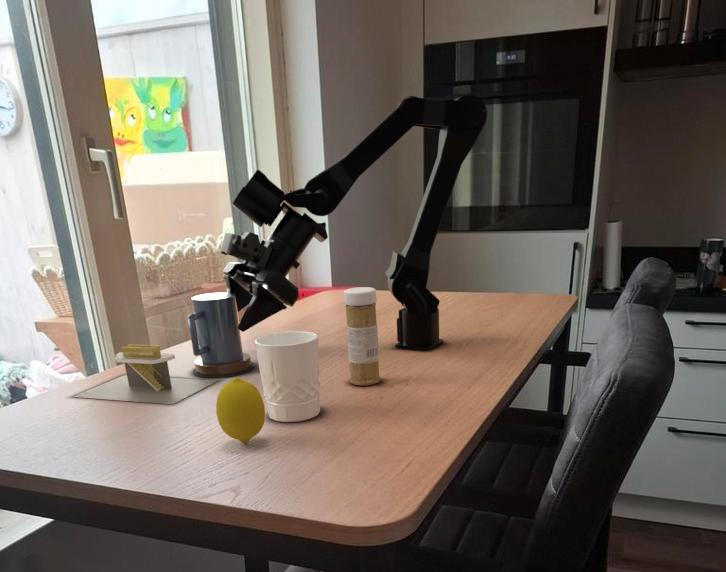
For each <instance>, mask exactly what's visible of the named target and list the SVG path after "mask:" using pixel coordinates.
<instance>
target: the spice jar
mask: <svg viewBox="0 0 726 572" xmlns="http://www.w3.org/2000/svg"><path fill="white" fill-rule="evenodd" d="M376 302H377V290H376V288H374V287H370V286H360V287H351V288H347V289H345V290H344V291H343V304H344V307H345V317H346V337H347V338H346V340H347V352H348V353H347V354H348V362H349V374H350V376H349V382H350V384H352V385H355V386H372V385H373V386H374V385H376V384H378V383H379V382H380V381H381V377H380V366H379V365H380V364H379V360H380V353H379V336H378V335H379V331H378V321H377V308H376V306H377V303H376Z"/></svg>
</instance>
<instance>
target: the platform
mask: <svg viewBox="0 0 726 572" xmlns="http://www.w3.org/2000/svg"><path fill="white" fill-rule="evenodd" d="M120 348H121V351H120V352H117V353H115V362H116V363H123V364H124V368H125V373H126V374H124V375H122V376H119V377H117V378H115V379H112V380H110V381H107V382H105V383H103V384H100V385H98V386H95V387H93V388H90V389H87V390H86V391H83V392H80V393H79V394H76V395H73V396H72V397H73V398H81V399H82V398H83V399H97V400H111V401H121V402H123V401H124V402H134V403H135V402H136V403H137V402H138V403H149V404H160V405H161V404H162V405H174V404H176V403H178V402H180V401H182V400H183V399H185V398H187V397H190V396H192V395H194V394H196V393H197V392H199V391H201V390H203V389H205V388H207V387H209V386H211V385H213V384H215V383H217V382H218V380H213V379H212V380H211V379H198V378H197V379H194V378H178V377H171V375H170V369H169V363H168V362H169V361H172V360H175V359H176V356H175V354H174V353H162V352H161V349H160V344H147V345H146V344H133V343H128V344H127V346H121V347H120Z"/></svg>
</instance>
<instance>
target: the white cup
mask: <svg viewBox="0 0 726 572" xmlns="http://www.w3.org/2000/svg"><path fill="white" fill-rule="evenodd" d="M254 344H255V350H256V351H255V352H256V356H257V363H258V368H259V374H260V378H261V379H260V380H261V384H262V385H261V386H262V389H263V395H264V398H265V402H266V408H267V409H266V410H267V414H268V416H269V419H270V420H273V421H274V422H275V421H276V422H282V423H294V422H295V423H296V422H303V421H306V420H310V419H313V418H315V417H317V416H318V415H319V413H320V412H321V399H320V389H321V382H320V377H321V376H320V375H321V373H320V350H319V335H318V334H317V333H316V332H311V331H304V330H303V331H302V330H293V331H292V330H291V331H279V332H274V333H269V334H265V335H261V336H259V337H257V338H256V339H255V340H254Z"/></svg>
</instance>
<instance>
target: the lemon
mask: <svg viewBox="0 0 726 572" xmlns="http://www.w3.org/2000/svg"><path fill="white" fill-rule="evenodd" d="M215 403H216V404H215V411H216V413H215V414H216V417H217V421H218V424H219V426H220V428H221V431H223V433H224V434H226V435H227V437H229V438H231V439H234V440H238V441H239V442H240V443H241V444H248V443H249V442H250V440H252V438H254V437H256V436H257V435H258V434H259V433H260V432H261V430H262V429H263V427H264V424H265V420H266V409H265V408H266V407H265V402H264V399H263V397H262V394H261V392H260V391H259V389H258V388H257V387H256V386H255V385H254V384H253V383H252V382H250V381H248V380H244V379H241V378H240V377H239V376H234V377H233V378H232V380H230V381H228V382H226V383H225V384H224V385H223V386H222V387H221V388H220V390H219V391H218V394H217V398H216V402H215Z"/></svg>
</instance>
